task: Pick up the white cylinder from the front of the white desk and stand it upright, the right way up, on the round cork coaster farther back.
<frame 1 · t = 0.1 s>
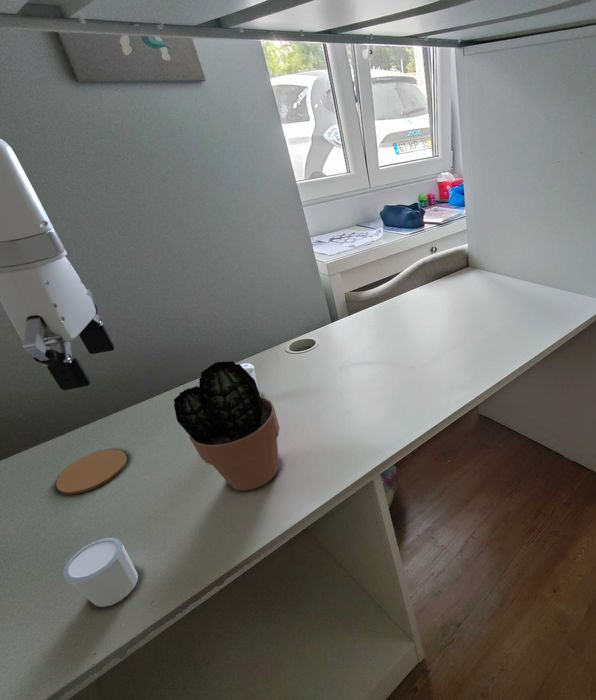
hand: (90, 368, 62), 29 cm above the table, tool pointing down, fingers open, 9 cm apart
milkshake: (252, 400, 104), on the table
coaster: (93, 471, 86), on the table
potted plant: (254, 473, 84), on the table
white cylinder: (116, 588, 65), on the table
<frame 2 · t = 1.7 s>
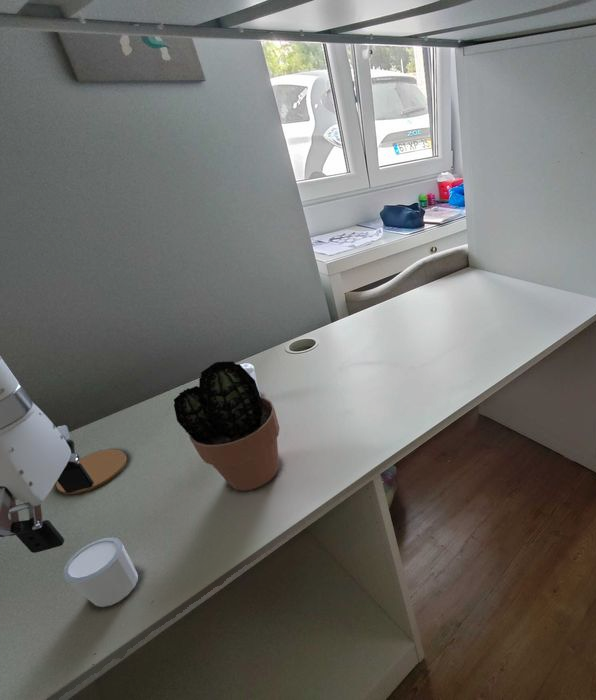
hand: (66, 515, 57), 15 cm above the table, tool pointing down, fingers open, 9 cm apart
nothing on the table moved.
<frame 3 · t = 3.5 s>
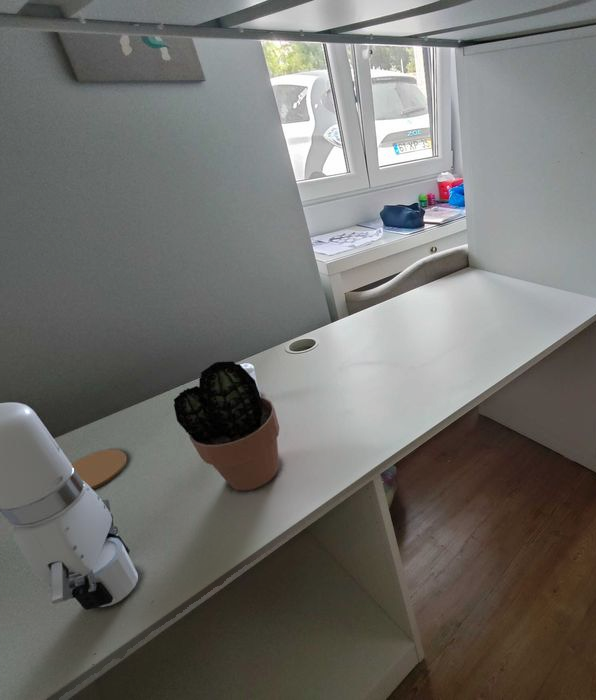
hand: (109, 578, 64), 2 cm above the table, tool pointing down, fingers closed on white cylinder, 6 cm apart
white cylinder: (116, 588, 65), on the table, touching gripper
everything else where it was.
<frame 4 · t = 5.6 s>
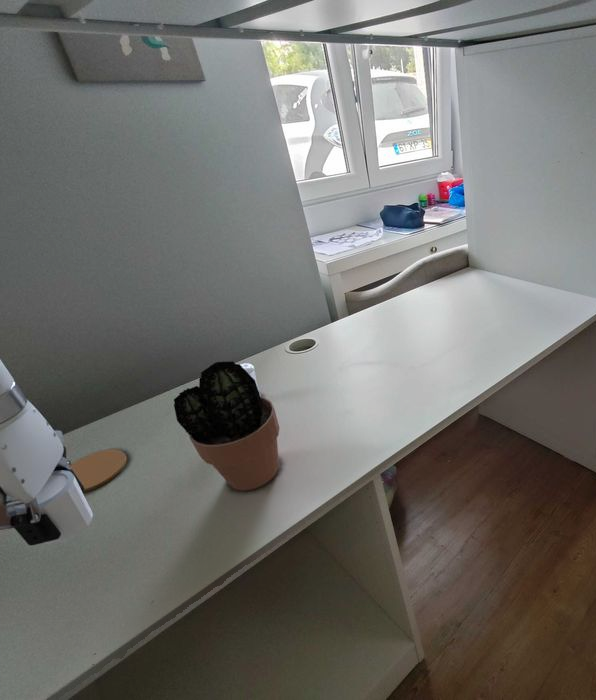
hand: (59, 515, 58), 15 cm above the table, tool pointing down, fingers closed on white cylinder, 6 cm apart
white cylinder: (67, 527, 59), point 13 cm above the table, touching gripper
everything else where it was.
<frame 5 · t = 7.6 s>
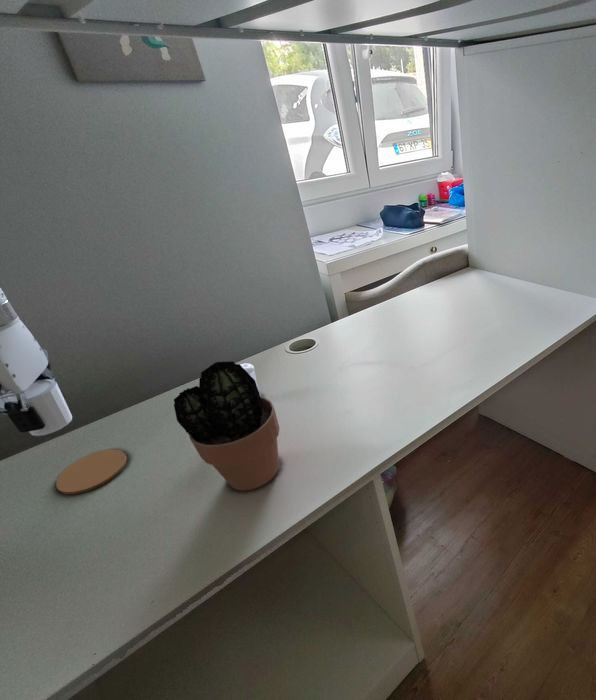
hand: (44, 414, 73), 17 cm above the table, tool pointing down, fingers closed on white cylinder, 6 cm apart
white cylinder: (52, 425, 74), point 15 cm above the table, touching gripper
everything else where it was.
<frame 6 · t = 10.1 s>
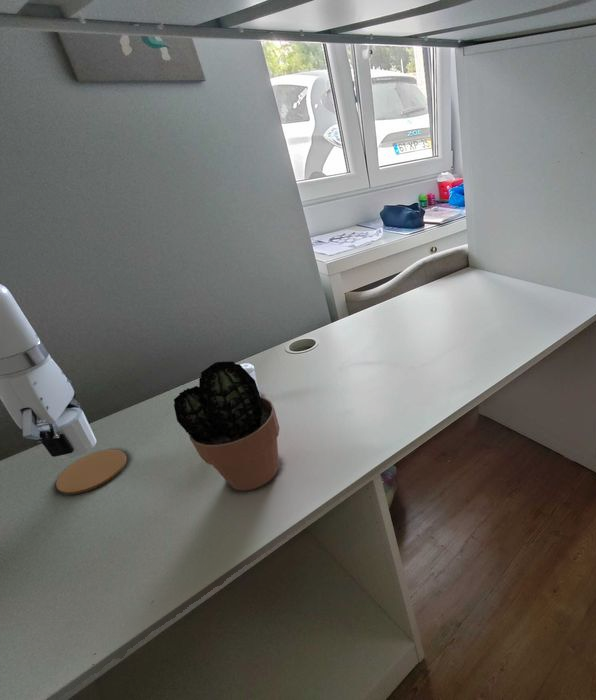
hand: (72, 439, 81), 8 cm above the table, tool pointing down, fingers closed on white cylinder, 6 cm apart
white cylinder: (78, 448, 83), point 6 cm above the table, touching gripper
everything else where it was.
when the fingers open (3 cm above the table, at t = 12.0 s): white cylinder stays where it is, resting on coaster.
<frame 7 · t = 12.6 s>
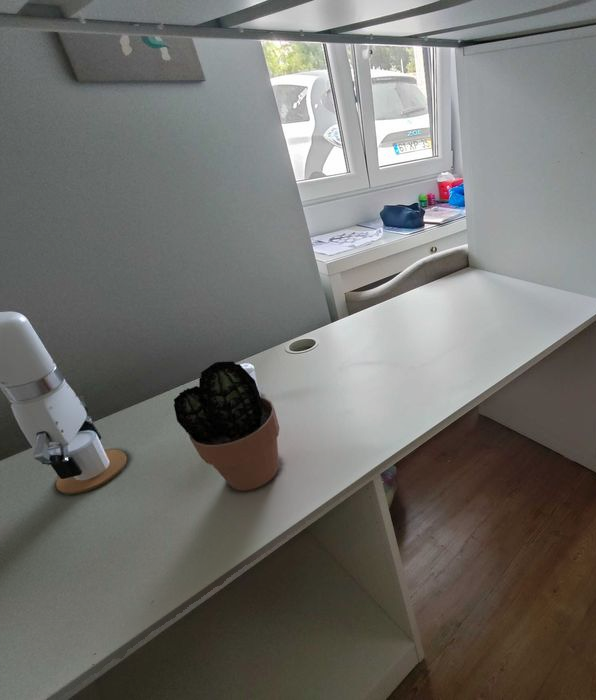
hand: (82, 457, 84), 4 cm above the table, tool pointing down, fingers open, 9 cm apart
white cylinder: (92, 470, 85), resting on coaster
everything else where it was.
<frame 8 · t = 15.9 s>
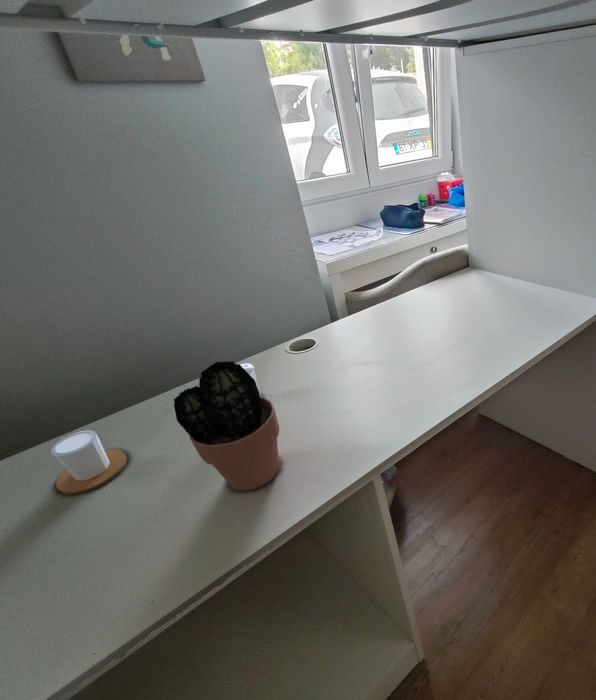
nothing on the table moved.
at the end: white cylinder 0.1 cm off-centre on the coaster, point 0.4 cm above the coaster's base; white cylinder tilted 0°; the gripper is holding nothing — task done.
